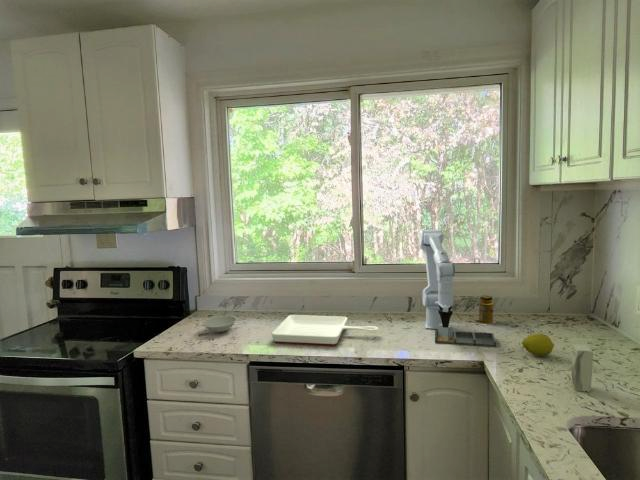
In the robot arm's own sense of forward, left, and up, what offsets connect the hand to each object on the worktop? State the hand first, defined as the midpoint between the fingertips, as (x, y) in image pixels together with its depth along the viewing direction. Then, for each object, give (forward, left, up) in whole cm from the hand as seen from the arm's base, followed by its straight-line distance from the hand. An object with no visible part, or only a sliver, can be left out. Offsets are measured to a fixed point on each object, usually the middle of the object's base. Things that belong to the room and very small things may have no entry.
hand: (445, 324), depth 173 cm
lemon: (+11, +32, -7) cm, 35 cm away
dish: (+9, -99, -7) cm, 99 cm away
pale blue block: (0, 0, -5) cm, 5 cm away
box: (+36, +39, -7) cm, 54 cm away
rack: (0, +7, -6) cm, 10 cm away
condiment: (-27, +17, -7) cm, 33 cm away
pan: (+4, -49, -7) cm, 49 cm away
